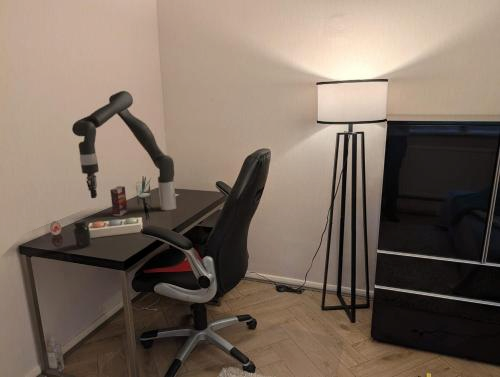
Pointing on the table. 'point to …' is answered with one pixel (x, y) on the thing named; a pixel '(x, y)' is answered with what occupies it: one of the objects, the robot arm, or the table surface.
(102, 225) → the button terracotta
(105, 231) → the button box
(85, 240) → the supplement bottle
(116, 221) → the button slate
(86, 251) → the table surface
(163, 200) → the robot arm
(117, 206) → the supplement box
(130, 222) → the button sage
